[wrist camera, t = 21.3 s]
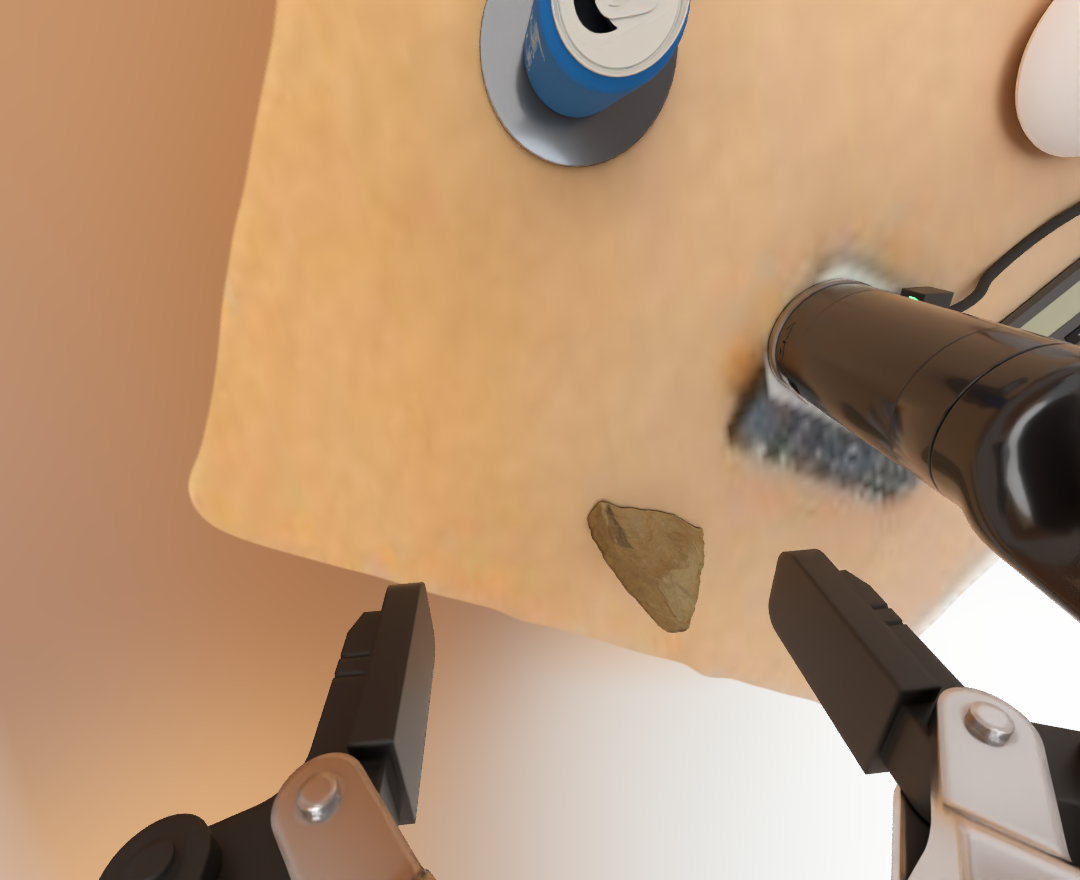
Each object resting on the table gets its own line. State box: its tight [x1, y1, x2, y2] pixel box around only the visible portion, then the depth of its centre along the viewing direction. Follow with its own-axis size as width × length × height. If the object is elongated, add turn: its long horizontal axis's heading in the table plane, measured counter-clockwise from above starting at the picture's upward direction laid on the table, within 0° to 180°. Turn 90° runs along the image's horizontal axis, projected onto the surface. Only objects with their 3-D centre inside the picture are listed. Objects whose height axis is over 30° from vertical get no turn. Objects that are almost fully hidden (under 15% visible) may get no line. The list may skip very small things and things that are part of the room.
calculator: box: [1000, 259, 1080, 345], centre depth 44 cm, size 12×1×15 cm
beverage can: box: [524, 0, 690, 118], centre depth 26 cm, size 6×6×12 cm
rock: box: [588, 502, 704, 633], centre depth 46 cm, size 11×9×10 cm
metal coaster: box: [480, 0, 678, 167], centre depth 31 cm, size 12×12×1 cm
